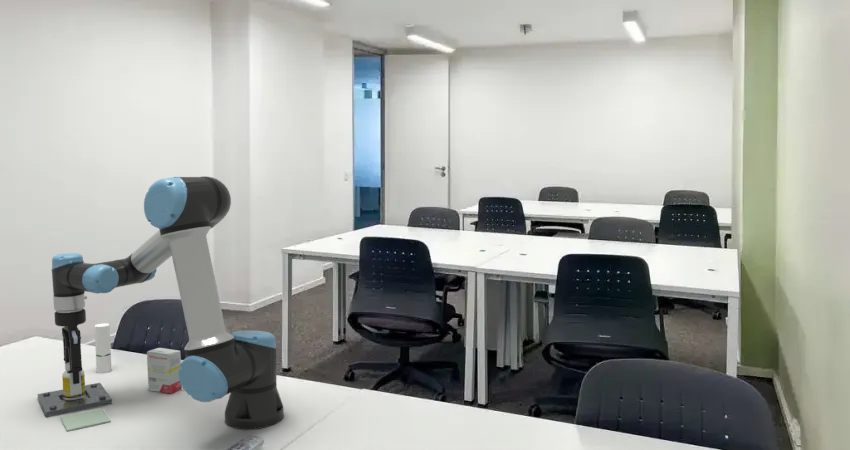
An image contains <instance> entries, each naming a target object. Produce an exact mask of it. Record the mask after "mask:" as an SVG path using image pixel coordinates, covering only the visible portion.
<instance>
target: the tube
mask: <svg viewBox="0 0 850 450" xmlns="http://www.w3.org/2000/svg"><path fill="white" fill-rule="evenodd" d="M94 342H95V343H94V345H95V361H96V362H95V364H96V365H95V366H96V373H97V374H107V373H110V372H112V371H113V370H112V352H111V350H112V349H111V347H112V346H111V326H110V323H107V322H106V323H104V322H103V323H98V324H95V325H94Z"/></svg>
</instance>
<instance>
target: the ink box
mask: <svg viewBox="0 0 850 450" xmlns="http://www.w3.org/2000/svg"><path fill="white" fill-rule="evenodd" d="M146 359H147V361H146V362H147V363H146V364H147V389H148V391H150V392H157V393H164V394H165V393H166V394H173V393H175V392H177V391H179V390H182V388H183V387H182V385H181V383H180V380H179V368H180V367H181V366H180V364H181V363H182V356H181V350H177V349H171V348H165V347H163V348H162V347H157V348H154V349H150V350H148V351H146Z"/></svg>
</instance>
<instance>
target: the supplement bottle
mask: <svg viewBox="0 0 850 450" xmlns="http://www.w3.org/2000/svg"><path fill="white" fill-rule="evenodd" d="M64 369H65V371H63V372H62V376H61V377H62V390H63V398H64V399H63V400H66V401H76V400H81V399H84V398H85V396H86V395H85V385H86V382H85V370H83V369H82V371H81V386H82V394H77V395H72V396H71V395H70V377H69V373H67V371H70V363H69V362H68V363H66V364H65V363H64Z"/></svg>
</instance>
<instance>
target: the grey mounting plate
mask: <svg viewBox="0 0 850 450" xmlns="http://www.w3.org/2000/svg"><path fill="white" fill-rule="evenodd" d="M85 396H86V397H87V398H80V399H77V400H70V401H67V402H62V400H65V399H64V398H63V389H59V390H53V391H48V392H42V393H37V400H38V403H39V405H40V407H41V410H42V412H43V414H44V416H45V418H50V417H55V416H60V415H64V414H65V415H66V414H69V413H74V412H79V411H83V410H90V409H94V408H98V407H103V406H108V405H113V398H112V397H111V395H110V394H109V393H108V392H107V390H106V389H105V387H104V386H103V384H102V383H101V382H97V383H90V384H85Z"/></svg>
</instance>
